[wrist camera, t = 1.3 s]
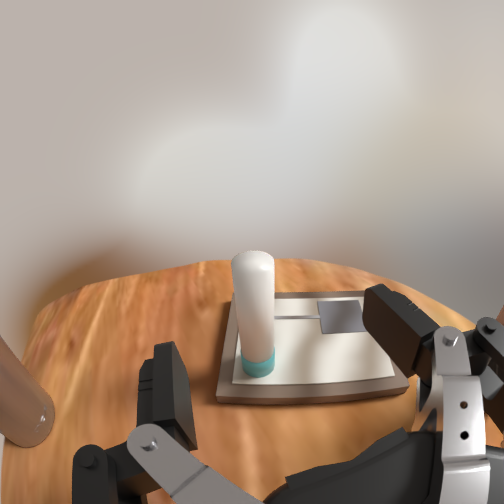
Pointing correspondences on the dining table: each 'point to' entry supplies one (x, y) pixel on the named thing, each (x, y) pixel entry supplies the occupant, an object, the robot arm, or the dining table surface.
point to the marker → (255, 310)
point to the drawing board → (312, 355)
